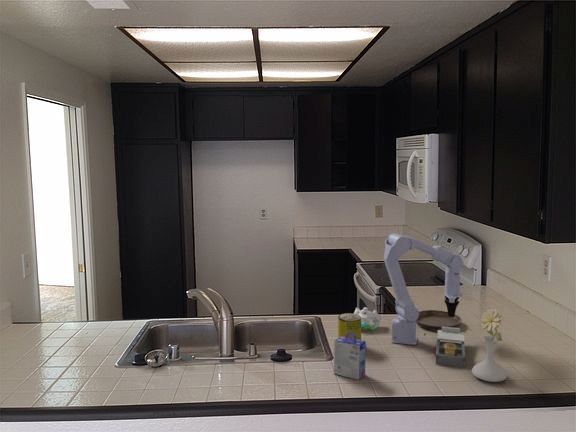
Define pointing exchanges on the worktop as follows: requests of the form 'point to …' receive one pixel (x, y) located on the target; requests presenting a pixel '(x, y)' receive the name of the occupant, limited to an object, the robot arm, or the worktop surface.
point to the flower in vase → (490, 349)
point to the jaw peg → (450, 349)
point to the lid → (450, 334)
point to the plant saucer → (437, 320)
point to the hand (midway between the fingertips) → (451, 314)
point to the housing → (449, 359)
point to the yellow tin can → (349, 325)
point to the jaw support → (368, 318)
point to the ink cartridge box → (349, 356)
